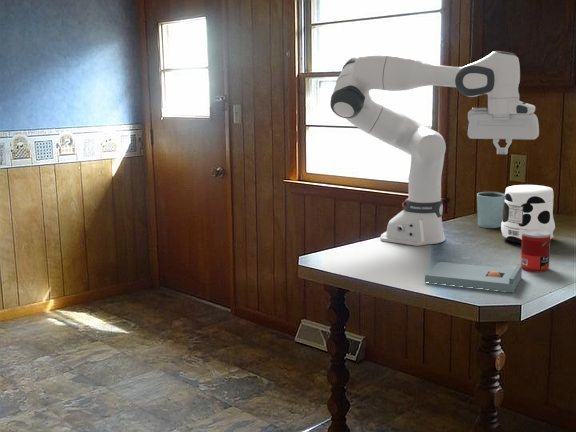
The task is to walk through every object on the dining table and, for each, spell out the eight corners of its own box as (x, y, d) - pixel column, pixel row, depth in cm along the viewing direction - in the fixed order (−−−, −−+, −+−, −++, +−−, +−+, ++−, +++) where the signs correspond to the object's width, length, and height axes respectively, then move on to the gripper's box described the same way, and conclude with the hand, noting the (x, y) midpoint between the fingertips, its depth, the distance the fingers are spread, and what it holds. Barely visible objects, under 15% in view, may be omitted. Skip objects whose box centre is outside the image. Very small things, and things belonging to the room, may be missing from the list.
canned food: (545, 273, 199) (547, 236, 197) (517, 270, 203) (518, 234, 201) (551, 266, 206) (553, 230, 203) (524, 263, 210) (525, 228, 207)
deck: (425, 283, 195) (425, 269, 194) (438, 269, 207) (438, 256, 206) (512, 293, 184) (513, 278, 183) (521, 278, 196) (522, 264, 195)
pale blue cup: (474, 222, 264) (475, 191, 261) (502, 222, 262) (502, 191, 260) (478, 228, 254) (478, 196, 251) (506, 228, 252) (507, 196, 250)
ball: (488, 271, 191) (500, 276, 189) (491, 267, 194) (503, 272, 192) (484, 282, 192) (496, 287, 191) (487, 278, 195) (499, 283, 194)
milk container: (550, 234, 242) (552, 184, 238) (557, 247, 225) (560, 193, 221) (499, 233, 245) (500, 184, 242) (502, 246, 229) (504, 193, 225)
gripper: (465, 108, 205) (464, 154, 208) (537, 107, 195) (535, 156, 198) (470, 106, 210) (469, 151, 213) (540, 106, 201) (539, 153, 204)
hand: (502, 154), depth 206 cm, fingers closed
